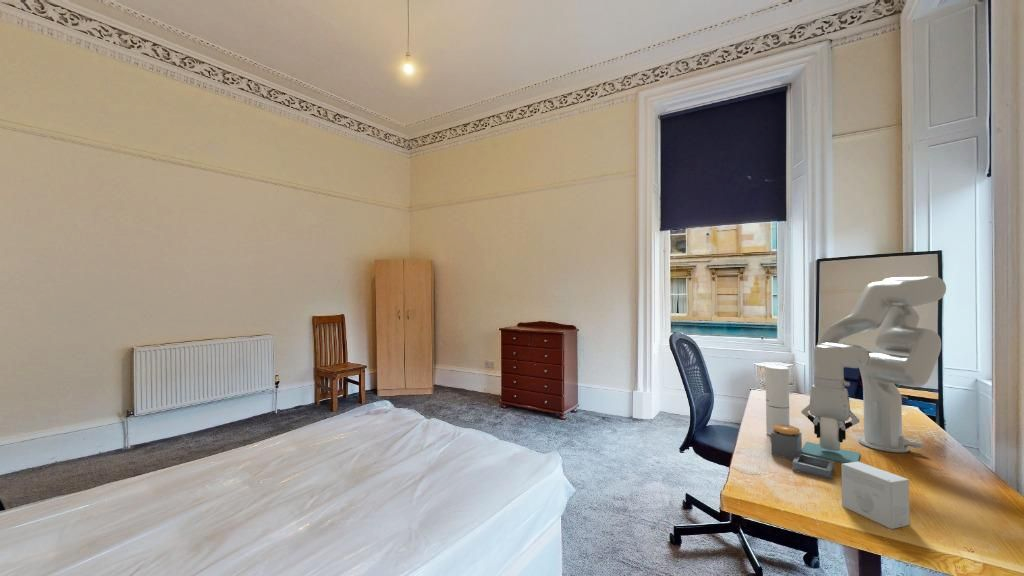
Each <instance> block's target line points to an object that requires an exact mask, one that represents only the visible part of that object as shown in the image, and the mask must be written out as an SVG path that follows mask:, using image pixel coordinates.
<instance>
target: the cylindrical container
mask: <svg viewBox="0 0 1024 576" xmlns="http://www.w3.org/2000/svg"><path fill="white" fill-rule="evenodd" d="M789 372H790V369H789V367H787V366H784V365H783V366H782V365H774V364H773V365H765V416H766V417H765V420H766V422H765V423H766V425H765V426H766V427H765V429H766V430H765V431H766V432H767V433H766V434H767V435H768V434H769V435H768V436H770V435H771V433H772V432H773V430H774V429H773V426H774V425H776V424H784V425H790V373H789ZM790 426H791V425H790Z"/></svg>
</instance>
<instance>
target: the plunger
mask: <svg viewBox="0 0 1024 576" xmlns="http://www.w3.org/2000/svg"><path fill="white" fill-rule="evenodd" d="M773 429H774V430H775V431H777V432H779V433H780V434H784V435H789V436H793V435H797V434H800V433H801V432H800V428H798V427H797V426H793V425H784V424H776V425H774V426H773Z"/></svg>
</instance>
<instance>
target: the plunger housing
mask: <svg viewBox="0 0 1024 576" xmlns="http://www.w3.org/2000/svg"><path fill="white" fill-rule="evenodd" d="M802 433H803V432H800V434H797V435H793V436H789V435H784V434H780V433H779V432H777V431H775V430H773V432H772V433H771V436H770V439H771V443H770V444H771V446H770V447H771V450H770V451H771V455H772V456H775V455H776V457H780V458H784V459H789V460H792V461H793V460H794V459H795V457H796V456H797V454H798V453H800V454H802V448H803V444H802V440H803V438H802V437H803V436H802V435H803V434H802Z"/></svg>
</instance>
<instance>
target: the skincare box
mask: <svg viewBox="0 0 1024 576" xmlns="http://www.w3.org/2000/svg"><path fill="white" fill-rule="evenodd" d="M840 464H841V466H840V467H841V506H842V508H845V509H847V510H850V511H853V512H854V513H856V514H858V515H860V516H862V517H865V518H867V519H869V520H871V521H873V522H875V523H877V524H879V525H882V526H884V527H886V528H888V529H890V530H893V529H894V530H895V529H898V528H902V527H906V526H909V525H911V522H910V521H911V520H910V518H911V517H910V479H909V478H906V477H903V476H900V475H898V474H894V473H893V472H889V471H886V470H883V469H880V468H877V467H876V466H872V465H869V464H866V463H865V462H861V461H858V462H851V463H840Z"/></svg>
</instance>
